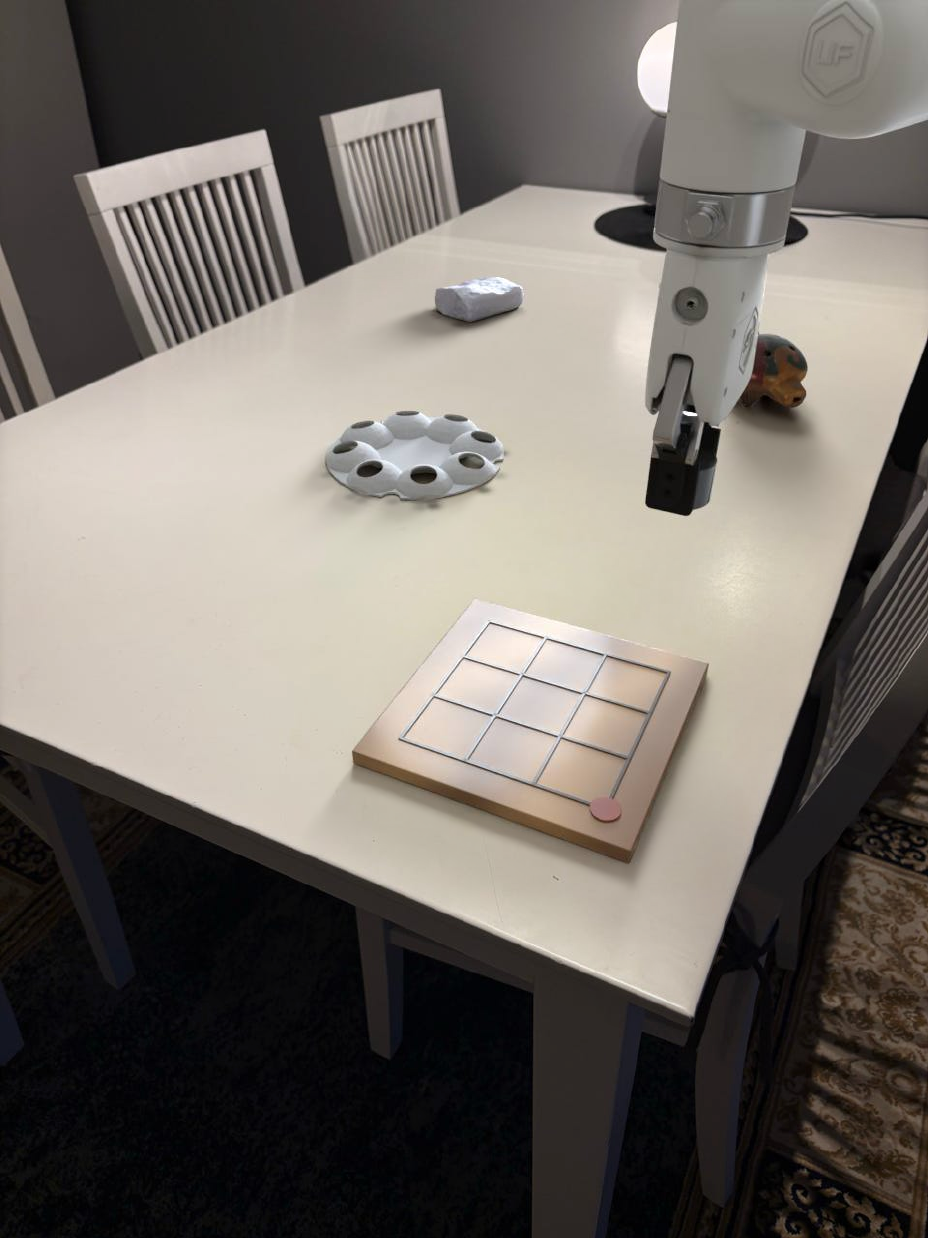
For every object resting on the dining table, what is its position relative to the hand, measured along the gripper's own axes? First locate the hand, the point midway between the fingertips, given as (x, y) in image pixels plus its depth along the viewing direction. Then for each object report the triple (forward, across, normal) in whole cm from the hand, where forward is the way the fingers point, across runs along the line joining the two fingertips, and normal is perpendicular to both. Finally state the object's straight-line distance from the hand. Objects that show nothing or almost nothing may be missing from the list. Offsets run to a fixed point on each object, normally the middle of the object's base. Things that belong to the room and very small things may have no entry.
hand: (679, 490), depth 63 cm
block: (+15, +70, +50) cm, 87 cm away
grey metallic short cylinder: (0, 0, 0) cm, 0 cm away
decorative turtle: (+15, +55, +4) cm, 57 cm away
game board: (+15, -10, +6) cm, 19 cm away
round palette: (+15, +22, +34) cm, 43 cm away
